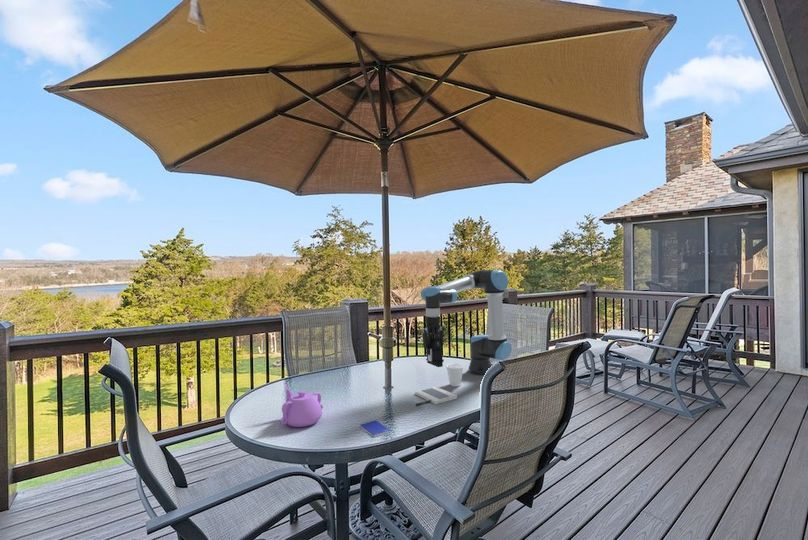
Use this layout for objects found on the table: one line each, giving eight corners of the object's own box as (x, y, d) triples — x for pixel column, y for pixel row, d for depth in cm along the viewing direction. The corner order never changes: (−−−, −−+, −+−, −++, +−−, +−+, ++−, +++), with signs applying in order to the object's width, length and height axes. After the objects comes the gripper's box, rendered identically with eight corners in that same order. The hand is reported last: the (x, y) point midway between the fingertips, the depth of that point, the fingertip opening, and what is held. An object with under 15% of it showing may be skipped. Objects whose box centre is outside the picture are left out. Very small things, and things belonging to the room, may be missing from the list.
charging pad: (435, 389, 219) (435, 386, 219) (457, 398, 203) (456, 395, 203) (400, 397, 206) (400, 394, 206) (420, 408, 191) (420, 405, 191)
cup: (463, 382, 229) (463, 363, 229) (464, 388, 219) (464, 368, 219) (446, 382, 230) (446, 363, 230) (446, 387, 220) (446, 368, 220)
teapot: (305, 407, 195) (304, 380, 194) (334, 418, 181) (333, 388, 181) (264, 422, 178) (263, 392, 177) (293, 435, 164) (292, 402, 164)
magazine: (441, 365, 198) (433, 336, 204) (428, 371, 209) (421, 343, 214) (447, 364, 200) (439, 336, 205) (434, 370, 211) (427, 342, 216)
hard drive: (391, 429, 166) (376, 419, 176) (374, 434, 161) (360, 424, 171) (391, 433, 166) (376, 423, 176) (374, 438, 161) (360, 428, 172)
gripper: (441, 313, 215) (442, 356, 215) (415, 316, 206) (416, 361, 206) (450, 315, 208) (450, 359, 209) (423, 318, 199) (424, 364, 200)
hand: (433, 360), depth 208 cm, fingers closed on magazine, 4 cm apart
